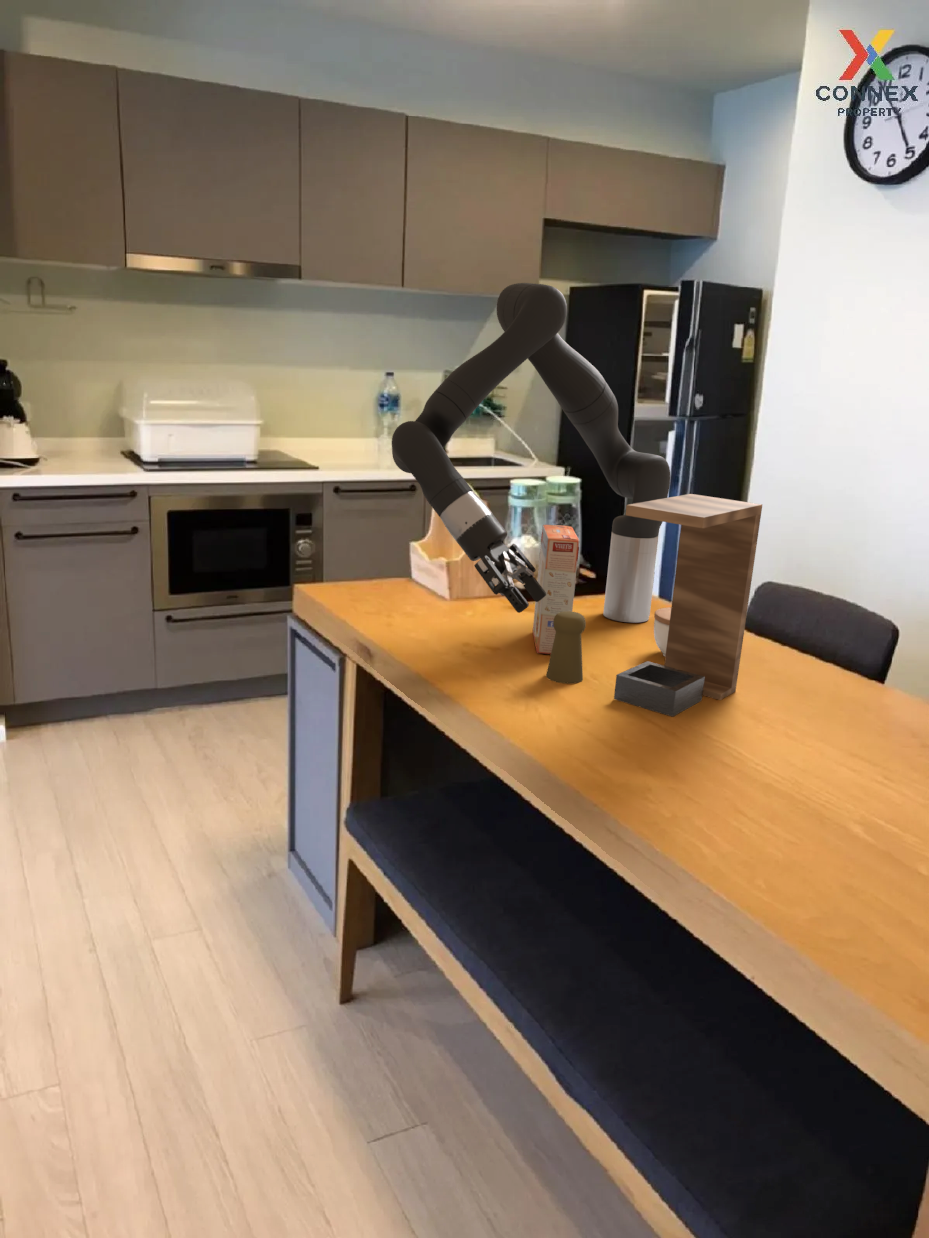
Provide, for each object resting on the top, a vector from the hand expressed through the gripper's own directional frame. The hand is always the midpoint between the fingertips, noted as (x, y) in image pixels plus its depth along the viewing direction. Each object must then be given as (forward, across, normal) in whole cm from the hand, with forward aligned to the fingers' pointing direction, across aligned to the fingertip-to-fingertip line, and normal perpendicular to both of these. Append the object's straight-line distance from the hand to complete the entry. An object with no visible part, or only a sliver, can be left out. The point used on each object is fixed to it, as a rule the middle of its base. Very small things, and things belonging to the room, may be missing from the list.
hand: (533, 604), depth 158 cm
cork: (+13, 0, +4) cm, 13 cm away
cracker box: (+7, +17, +9) cm, 20 cm away
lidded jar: (+23, +23, -6) cm, 33 cm away
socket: (+24, -2, -8) cm, 25 cm away
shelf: (+25, 0, -9) cm, 27 cm away
